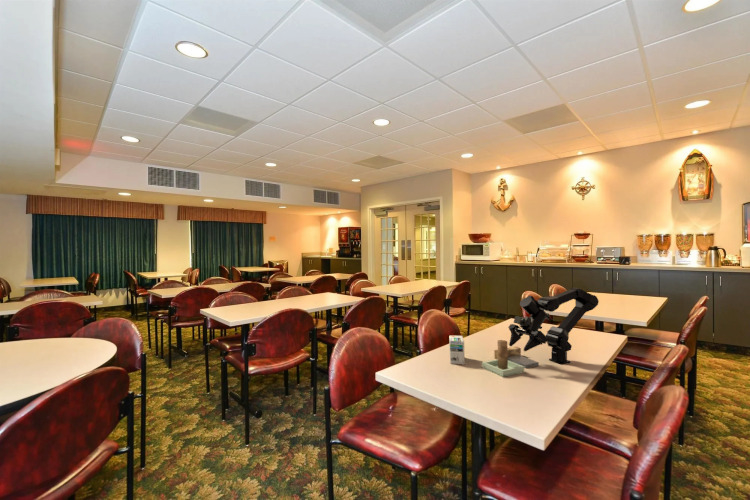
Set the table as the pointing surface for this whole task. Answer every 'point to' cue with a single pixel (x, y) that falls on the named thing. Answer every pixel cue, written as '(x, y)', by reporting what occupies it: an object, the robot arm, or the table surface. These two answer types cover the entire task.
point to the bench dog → (509, 352)
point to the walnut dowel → (502, 355)
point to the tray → (493, 367)
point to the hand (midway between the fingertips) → (516, 348)
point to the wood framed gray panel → (523, 361)
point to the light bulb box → (456, 349)
